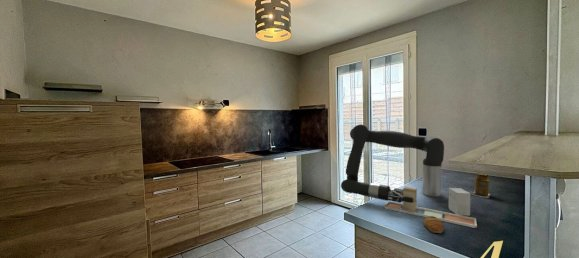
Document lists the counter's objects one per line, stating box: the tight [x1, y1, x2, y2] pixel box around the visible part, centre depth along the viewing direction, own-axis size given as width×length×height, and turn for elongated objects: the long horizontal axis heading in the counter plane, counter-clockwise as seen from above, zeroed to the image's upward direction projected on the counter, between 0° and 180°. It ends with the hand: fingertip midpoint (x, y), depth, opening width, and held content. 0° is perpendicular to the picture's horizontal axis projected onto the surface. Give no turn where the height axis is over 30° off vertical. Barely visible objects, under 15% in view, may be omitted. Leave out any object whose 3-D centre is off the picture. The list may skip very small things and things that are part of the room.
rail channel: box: [383, 200, 478, 229], centre depth 107 cm, size 9×36×1 cm, turn 53°
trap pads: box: [387, 203, 475, 225], centre depth 107 cm, size 7×35×1 cm, turn 53°
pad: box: [423, 211, 443, 218], centre depth 105 cm, size 7×7×1 cm
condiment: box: [471, 172, 491, 199], centre depth 132 cm, size 7×8×12 cm
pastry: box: [423, 216, 445, 234], centre depth 93 cm, size 9×7×4 cm
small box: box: [448, 187, 471, 217], centre depth 108 cm, size 8×6×10 cm
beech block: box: [402, 185, 418, 213], centre depth 111 cm, size 5×5×11 cm
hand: (414, 198), depth 109 cm, fingers open, 8 cm apart
